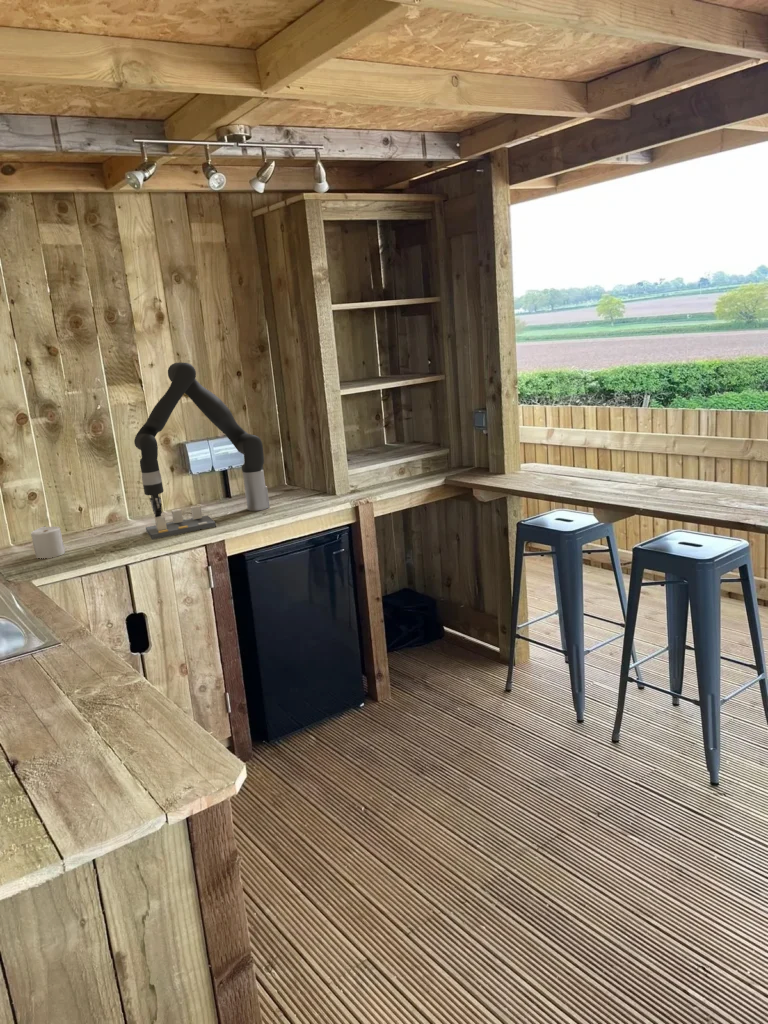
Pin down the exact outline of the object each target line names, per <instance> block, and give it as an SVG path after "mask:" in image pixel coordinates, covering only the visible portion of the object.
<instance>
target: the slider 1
mask: <svg viewBox="0 0 768 1024" xmlns="http://www.w3.org/2000/svg"><path fill="white" fill-rule="evenodd" d="M154 521H155V525H156V528H157V530H164V529H167V527H166V523H167V521H166V517H165V515H161V516H158V517H155V516H154Z"/></svg>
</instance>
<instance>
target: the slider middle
mask: <svg viewBox="0 0 768 1024" xmlns="http://www.w3.org/2000/svg"><path fill="white" fill-rule="evenodd" d="M171 515H172V516H171V517H172V522H174V523H179V522H183V520H184V517H183V516H184V515H183V511H182V509H181V508H177V509H172V510H171Z"/></svg>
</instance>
